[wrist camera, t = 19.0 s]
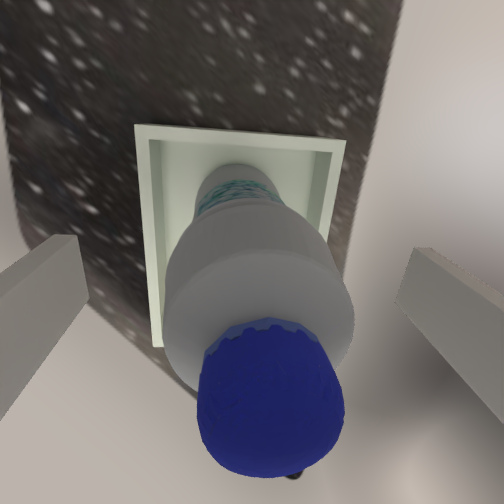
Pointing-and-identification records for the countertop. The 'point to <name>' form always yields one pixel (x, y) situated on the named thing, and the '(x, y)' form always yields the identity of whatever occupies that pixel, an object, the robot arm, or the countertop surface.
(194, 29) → the countertop surface
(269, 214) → the bottle
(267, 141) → the tote
